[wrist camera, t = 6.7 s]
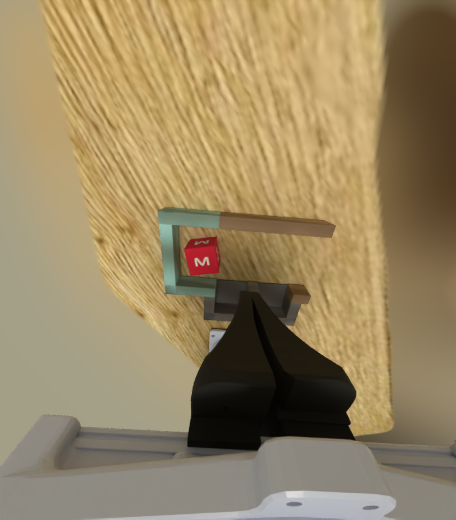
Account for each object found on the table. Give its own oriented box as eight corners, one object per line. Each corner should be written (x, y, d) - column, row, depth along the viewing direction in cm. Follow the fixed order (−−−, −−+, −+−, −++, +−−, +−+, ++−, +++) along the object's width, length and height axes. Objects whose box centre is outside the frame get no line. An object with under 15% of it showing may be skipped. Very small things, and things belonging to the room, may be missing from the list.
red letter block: (216, 236, 19) (214, 246, 16) (220, 260, 20) (218, 273, 18) (190, 239, 19) (183, 249, 17) (195, 262, 21) (190, 275, 18)
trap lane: (294, 313, 24) (299, 326, 22) (173, 305, 23) (168, 317, 21) (324, 220, 18) (335, 225, 16) (165, 207, 18) (157, 210, 16)
